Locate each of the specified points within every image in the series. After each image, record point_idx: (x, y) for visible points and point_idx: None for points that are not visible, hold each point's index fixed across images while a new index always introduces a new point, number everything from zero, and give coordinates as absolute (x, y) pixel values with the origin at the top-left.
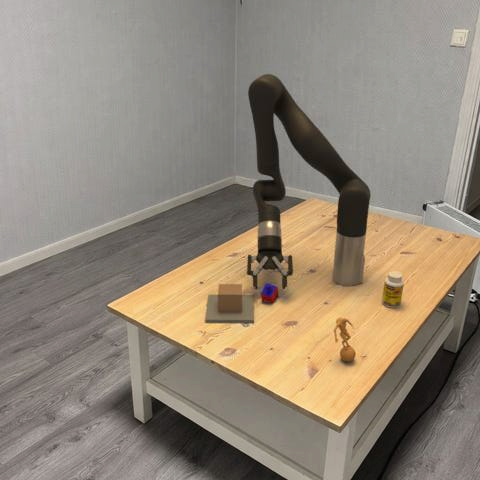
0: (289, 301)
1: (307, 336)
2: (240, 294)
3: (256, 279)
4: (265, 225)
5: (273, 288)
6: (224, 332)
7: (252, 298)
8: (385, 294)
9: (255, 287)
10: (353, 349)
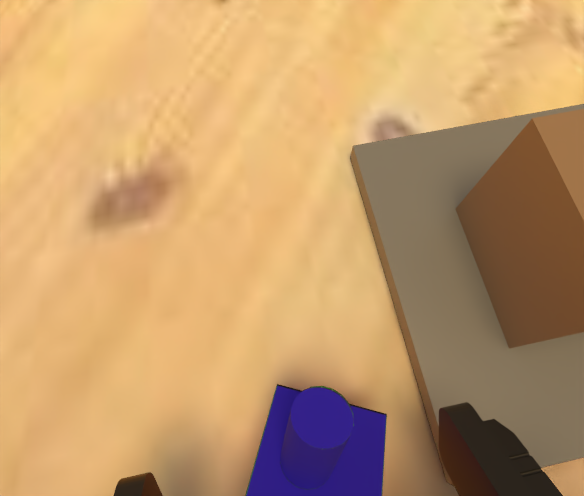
0: None
1: (42, 105)
2: (548, 116)
3: (510, 488)
4: None
5: (266, 486)
6: (478, 56)
7: None
8: None
9: (462, 404)
10: None
